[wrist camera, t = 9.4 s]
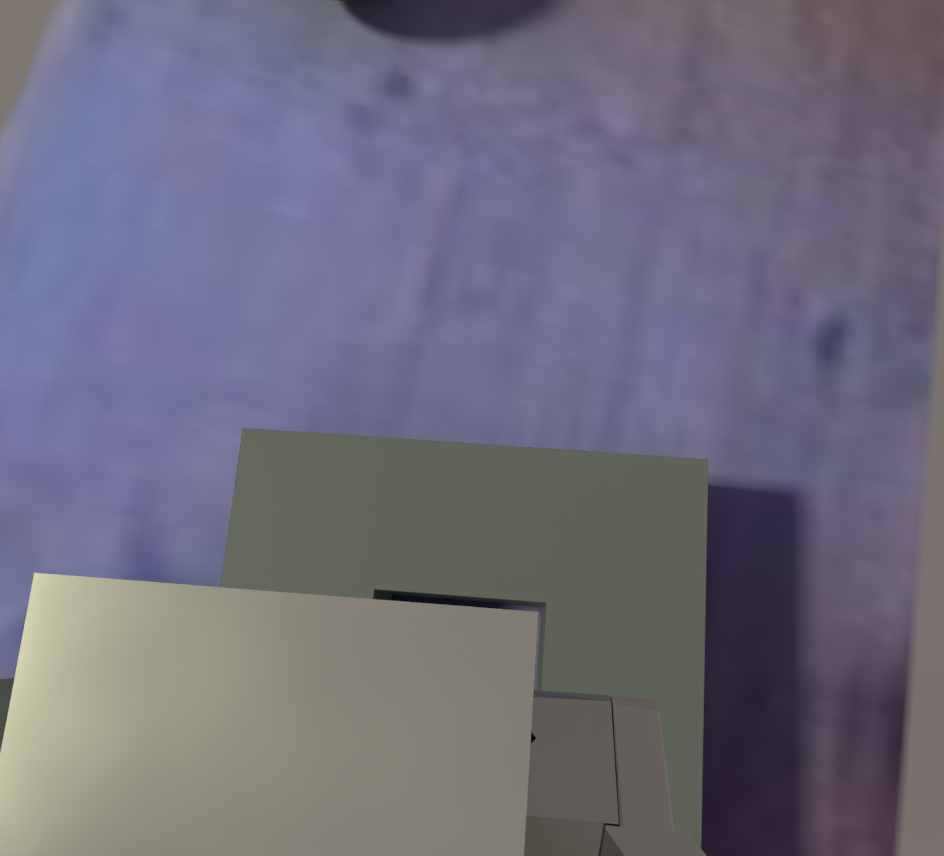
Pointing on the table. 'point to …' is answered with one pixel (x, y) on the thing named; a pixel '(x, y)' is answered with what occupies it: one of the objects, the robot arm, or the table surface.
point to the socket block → (502, 555)
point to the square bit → (264, 724)
